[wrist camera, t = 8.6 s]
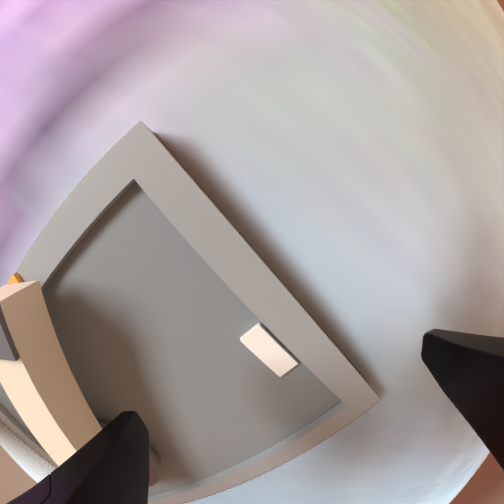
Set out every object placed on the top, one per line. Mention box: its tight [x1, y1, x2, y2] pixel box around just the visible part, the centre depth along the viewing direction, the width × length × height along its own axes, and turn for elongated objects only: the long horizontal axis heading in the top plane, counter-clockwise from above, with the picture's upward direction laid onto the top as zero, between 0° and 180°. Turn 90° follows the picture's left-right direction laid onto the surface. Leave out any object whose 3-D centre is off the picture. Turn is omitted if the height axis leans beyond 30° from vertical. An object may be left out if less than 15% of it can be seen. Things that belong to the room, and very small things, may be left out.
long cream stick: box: [0, 280, 161, 487], centre depth 8 cm, size 14×6×4 cm, turn 7°
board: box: [0, 121, 380, 504], centre depth 11 cm, size 22×17×2 cm
